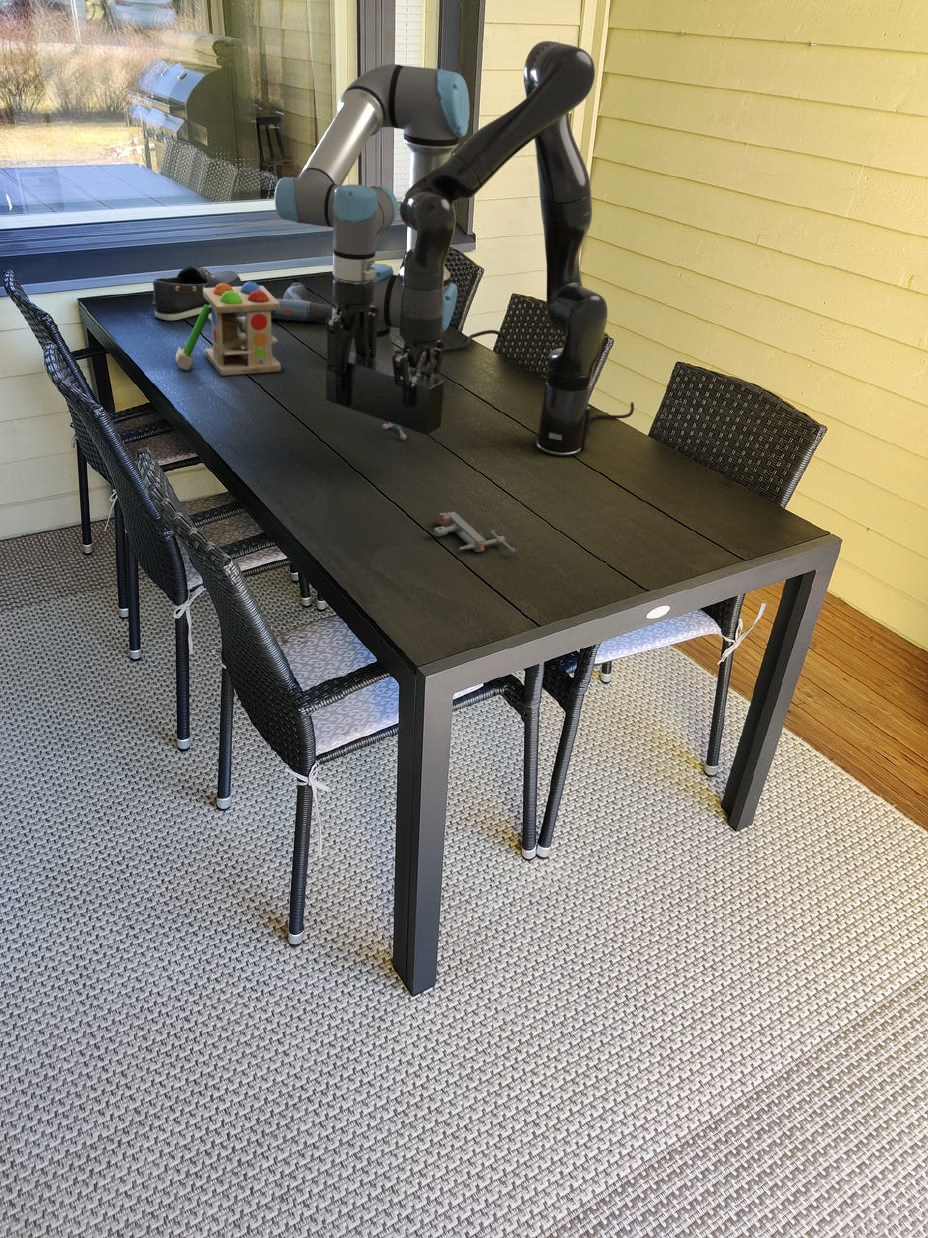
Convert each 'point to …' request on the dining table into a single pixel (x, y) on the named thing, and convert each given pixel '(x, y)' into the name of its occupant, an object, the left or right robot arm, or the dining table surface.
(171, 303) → the boat shoe
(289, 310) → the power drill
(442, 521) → the clamp
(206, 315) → the pounding bench toy
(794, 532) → the dining table surface
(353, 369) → the bar
